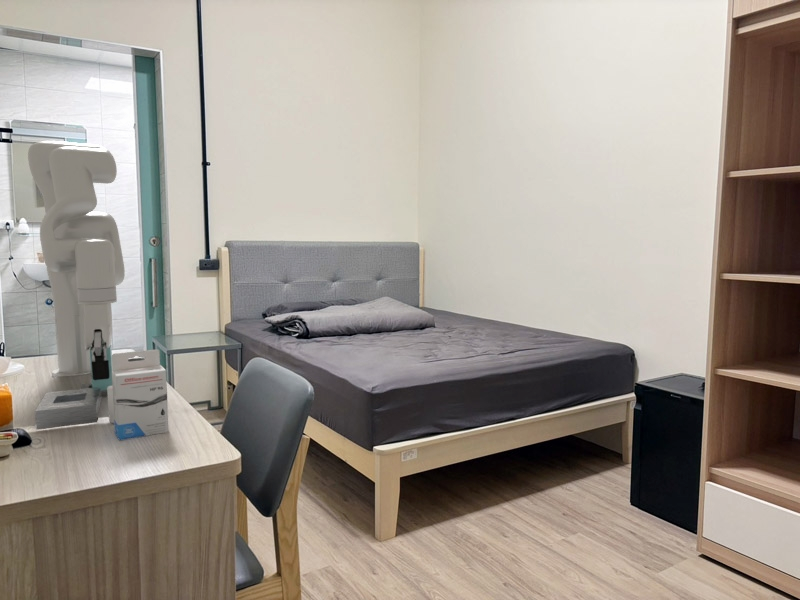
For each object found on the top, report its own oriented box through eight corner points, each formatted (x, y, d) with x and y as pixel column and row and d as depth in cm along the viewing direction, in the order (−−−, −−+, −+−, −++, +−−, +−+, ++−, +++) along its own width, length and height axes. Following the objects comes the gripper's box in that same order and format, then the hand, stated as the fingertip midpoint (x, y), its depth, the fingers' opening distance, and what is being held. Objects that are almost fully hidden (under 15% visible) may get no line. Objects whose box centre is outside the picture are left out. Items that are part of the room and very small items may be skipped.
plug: (94, 390, 131) (91, 345, 130) (114, 388, 133) (111, 343, 131) (92, 394, 127) (89, 348, 126) (113, 392, 129) (110, 347, 128)
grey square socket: (83, 393, 132) (82, 384, 132) (126, 388, 136) (126, 380, 136) (78, 403, 124) (78, 394, 124) (125, 398, 128) (125, 389, 128)
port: (48, 408, 121) (46, 391, 120) (102, 402, 125) (100, 386, 124) (36, 429, 108) (35, 410, 108) (97, 422, 112) (95, 403, 112)
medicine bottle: (164, 418, 114) (161, 358, 113) (131, 429, 108) (128, 365, 107) (141, 412, 118) (138, 354, 116) (108, 422, 112) (104, 361, 110)
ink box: (118, 441, 102) (113, 358, 100) (114, 433, 106) (109, 353, 104) (170, 432, 106) (165, 352, 105) (164, 424, 110) (160, 348, 109)
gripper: (81, 293, 134) (87, 368, 136) (73, 301, 118) (79, 386, 120) (118, 291, 137) (122, 365, 139) (114, 299, 121) (119, 382, 123)
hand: (102, 374), depth 130 cm, fingers open, 7 cm apart
